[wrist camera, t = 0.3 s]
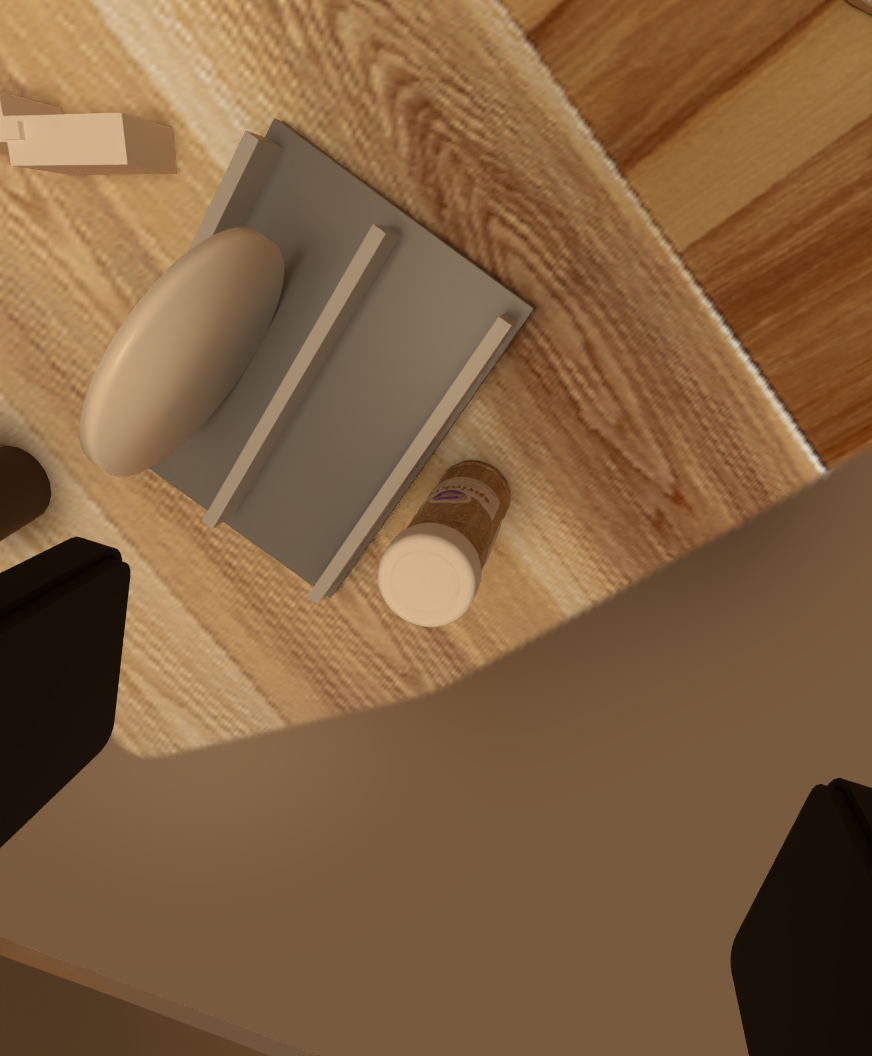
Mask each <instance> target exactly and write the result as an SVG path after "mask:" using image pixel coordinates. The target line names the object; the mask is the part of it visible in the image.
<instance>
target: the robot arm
mask: <svg viewBox="0 0 872 1056" xmlns="http://www.w3.org/2000/svg"><path fill="white" fill-rule="evenodd" d="M847 1H848V2H849V3H851V4H852V5H854V6H856V7H858V8H860V9H862V10H864V11H866V12H868V13H870V14H872V0H847ZM129 583H130V567H129V565H128V564H127V563H125V562H122V557H121V553H120V552H119V551H118V549H116V548H112V547H109V546H106V545H103V544H100V543H97V542H94V541H90V540H87V539H84V538H81V537H74V538H70V539H68V540H66V541H64V542H62V543H60V544H58V545H56V546H54V547H52V548H50V549H48V550H46V551H44V552H42V553H40V554H38V555H36V556H34V557H32V558H30V559H28V560H26V561H24V562H22V563H20V564H18V565H16V566H14V567H12V568H10V569H8V570H6V571H4V572H1V573H0V848H1V847H2V846H3V845H4V844H5V843H6V842H7V841H8V840H9V839H10V838H11V837H12V836H13V835H14V834H15V833H16V832H17V831H18V830H19V829H20V828H22V827H23V826H24V825H25V824H26V823H27V822H28V820H30V819H31V818H32V817H33V816H34V815H35V814H36V813H37V812H38V811H39V810H40V809H41V808H42V807H43V806H44V805H45V804H46V803H48V802H49V801H50V800H51V799H52V798H53V797H54V796H55V795H56V794H57V793H58V792H59V791H60V790H61V789H62V788H63V787H64V786H65V785H66V784H67V783H68V782H69V781H70V780H71V779H72V778H73V777H75V776H76V775H77V774H78V773H79V772H80V771H81V770H82V769H83V768H84V767H85V766H86V765H87V764H88V763H89V762H90V761H91V760H92V759H93V758H94V757H95V756H96V755H97V754H98V753H99V752H100V751H101V750H102V749H103V748H104V746H105V745H106V743H107V742H108V740H109V738H110V736H111V733H112V730H113V726H114V720H115V711H116V702H117V693H118V683H119V674H120V665H121V656H122V647H123V638H124V629H125V620H126V611H127V602H128V592H129ZM731 972H732V976H733V981H734V986H735V991H736V995H737V1000H738V1005H739V1009H740V1014H741V1019H742V1024H743V1029H744V1033H745V1038H746V1043H747V1048H748V1053H749V1056H872V788H870V787H867V786H864V785H861V784H857V783H854V782H851V781H848V780H845V779H842V778H837V779H834V780H833V781H832V782H830V783H829V784H828V786H826V785H822V784H819V785H816V786H815V787H814V788H813V789H812V791H811V792H810V794H809V796H808V798H807V799H806V801H805V803H804V805H803V807H802V809H801V811H800V813H799V815H798V817H797V819H796V821H795V823H794V825H793V826H792V828H791V830H790V832H789V834H788V836H787V838H786V840H785V842H784V844H783V846H782V848H781V850H780V852H779V854H778V855H777V857H776V859H775V861H774V863H773V865H772V867H771V869H770V871H769V873H768V875H767V877H766V879H765V881H764V883H763V885H762V886H761V888H760V890H759V892H758V894H757V896H756V898H755V900H754V902H753V904H752V906H751V908H750V910H749V912H748V913H747V916H746V917H745V919H744V921H743V923H742V925H741V927H740V929H739V931H738V933H737V935H736V937H735V939H734V942H733V946H732V951H731ZM0 1056H318V1055H316V1054H313V1053H310V1052H307V1051H305V1050H302V1049H300V1048H297V1047H294V1046H292V1045H289V1044H286V1043H283V1042H281V1041H278V1040H276V1039H273V1038H271V1037H268V1036H265V1035H262V1034H260V1033H257V1032H255V1031H252V1030H249V1029H247V1028H244V1027H241V1026H239V1025H236V1024H233V1023H231V1022H228V1021H226V1020H223V1019H220V1018H218V1017H215V1016H212V1015H210V1014H207V1013H204V1012H202V1011H199V1010H196V1009H194V1008H191V1007H188V1006H186V1005H183V1004H180V1003H178V1002H175V1001H173V1000H170V999H167V998H164V997H162V996H159V995H157V994H154V993H151V992H148V991H145V990H143V989H140V988H138V987H135V986H132V985H130V984H127V983H124V982H121V981H119V980H116V979H113V978H111V977H108V976H105V975H102V974H100V973H97V972H95V971H92V970H89V969H87V968H84V967H81V966H79V965H76V964H73V963H70V962H67V961H65V960H62V959H59V958H57V957H54V956H51V955H49V954H46V953H43V952H41V951H38V950H35V949H33V948H30V947H27V946H25V945H22V944H19V943H16V942H14V941H11V940H8V939H6V938H3V937H0Z"/></svg>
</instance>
